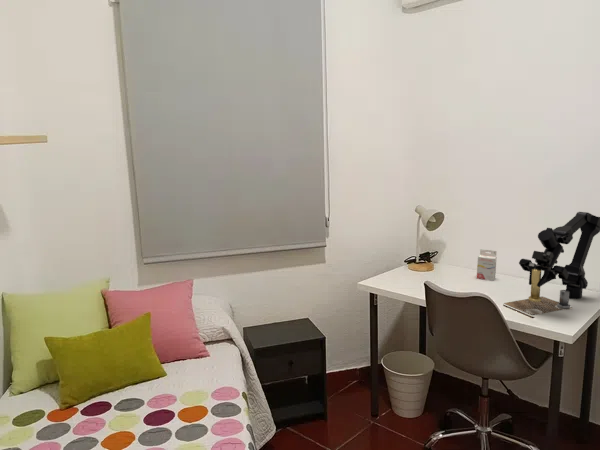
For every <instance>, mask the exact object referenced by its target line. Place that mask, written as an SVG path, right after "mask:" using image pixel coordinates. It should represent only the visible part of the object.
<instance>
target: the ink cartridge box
mask: <svg viewBox="0 0 600 450" xmlns="http://www.w3.org/2000/svg"><path fill="white" fill-rule="evenodd" d="M479 251H480V253H479V255H478V256H477V262H476V263H477V265H476V266H477V267H476V279H478V280H486V281H487V280H488V281H494V280H495V279H496V276H497V275H496V273H497V251H496V250H492V249H490V250H489V249H479Z"/></svg>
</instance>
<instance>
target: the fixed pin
mask: <svg viewBox="0 0 600 450" xmlns="http://www.w3.org/2000/svg"><path fill="white" fill-rule="evenodd" d="M558 300H559V301H558V302H559V303H558V304H556V305H557V307H558V309H559V308H561V309H570V307H571V305H570V303H569V300H570V299H569V291H567V290H566V289H560V290H559V299H558ZM570 310H571V309H570Z"/></svg>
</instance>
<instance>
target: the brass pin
mask: <svg viewBox="0 0 600 450" xmlns="http://www.w3.org/2000/svg"><path fill="white" fill-rule="evenodd" d="M541 278H542V270H541V269H532V280H531V285H530V296H528V298H527V299H528V300H527V301H532V302H533V303H534V302H540V303H541V296H540V295H541V286H540V287H538V283H539V281H540V280H541Z"/></svg>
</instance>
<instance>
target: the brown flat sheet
mask: <svg viewBox="0 0 600 450" xmlns="http://www.w3.org/2000/svg"><path fill="white" fill-rule="evenodd" d="M540 298H541V302H532V301H529V300H528V298H527V299H521V300H515V301H509V302H504V303H503V305H502V307H505V308H506V309H507V308H508V309H509V310H512V311H514V312H516V311H517V313H519V314H521V315H523V316H526V317H529V318H531V319H534V318H535V317H534V316H537V315H541V314H546V313H548V314H549V313H551V312H557V311H563V310H564V311H569V310H572V309H573V307H572V306H570V309H561V308H558V307H557V304H558V303H559V301H555V300H553V299H550V298H547V297H544V296H540Z"/></svg>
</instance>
